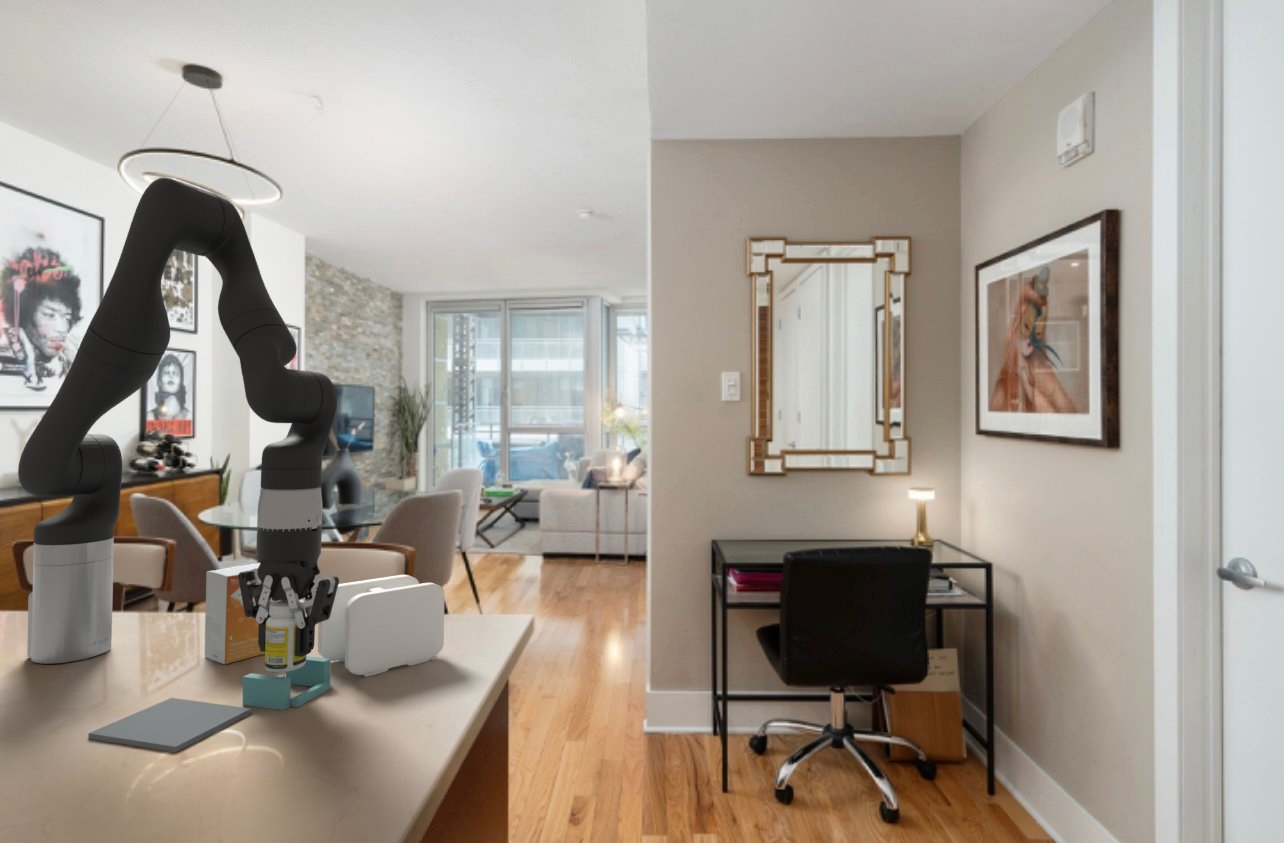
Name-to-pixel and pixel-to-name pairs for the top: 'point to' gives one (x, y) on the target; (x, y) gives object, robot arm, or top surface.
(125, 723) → the mat
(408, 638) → the cable organizer
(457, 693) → the top surface
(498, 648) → the top surface
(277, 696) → the teal corner cradle
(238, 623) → the small box
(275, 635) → the supplement bottle
